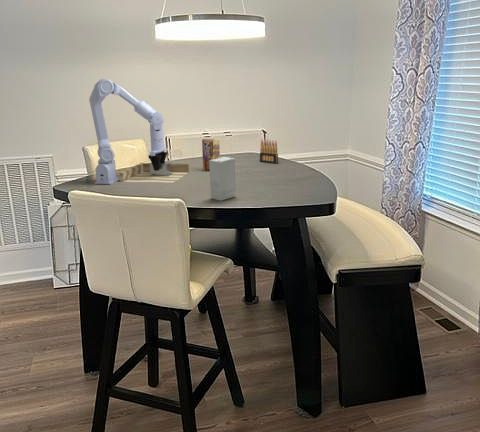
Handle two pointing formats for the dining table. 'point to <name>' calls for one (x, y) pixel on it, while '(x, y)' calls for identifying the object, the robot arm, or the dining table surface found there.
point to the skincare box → (222, 178)
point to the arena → (143, 174)
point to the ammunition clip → (269, 152)
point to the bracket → (161, 169)
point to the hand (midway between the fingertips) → (159, 169)
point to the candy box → (210, 152)
